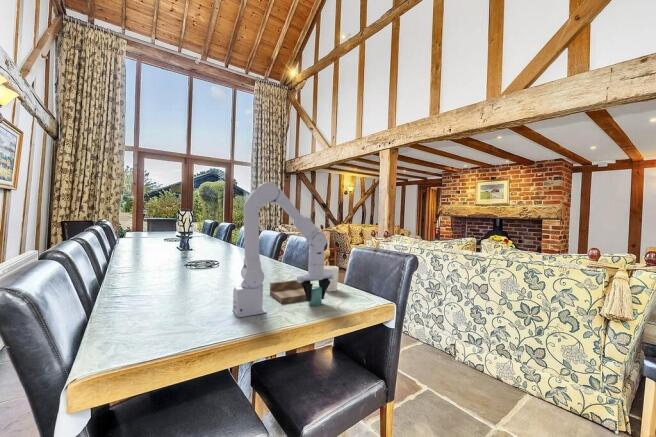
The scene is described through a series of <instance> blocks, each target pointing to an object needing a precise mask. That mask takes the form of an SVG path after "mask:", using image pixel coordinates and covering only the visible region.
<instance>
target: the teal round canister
mask: <svg viewBox="0 0 656 437" xmlns="http://www.w3.org/2000/svg"><path fill="white" fill-rule="evenodd" d="M322 301H323V299H322V288H321V287H319V285H318V286H316V285H315V286H314V285H313V286H312V290H311V301H310V302H309V301H307V302H308V303H307V304H308V306H309V307H310V306H311V307H320V306H322V304H323V302H322Z"/></svg>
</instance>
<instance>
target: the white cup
mask: <svg viewBox="0 0 656 437" xmlns="http://www.w3.org/2000/svg"><path fill="white" fill-rule="evenodd" d="M339 268H340V267H339V266H336V265H324V273H332V274H334V275H333V279H329V280H330V284H329V286H328V288H327V290H326V291H327V292H328V293H331V291H334V292H336V291H337V290H338V283H339V271H340V270H339ZM327 292H326V293H327Z"/></svg>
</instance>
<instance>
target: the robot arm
mask: <svg viewBox="0 0 656 437" xmlns="http://www.w3.org/2000/svg"><path fill="white" fill-rule="evenodd" d="M268 203H270V204H274V205H277V206H279V207H280V208H281V209H282V211H284V212H285V213H286V214H287V215H288V216H289V217H290V218H291V219H292V220H293V221H294V228H296V229H297V231H298V232H299V233H300V234H301V235H302V237H304V238H305V239H306V243H307V244H308V263H307V264H308V268H307V270H308V271H307V274H304V275H299V276H297V277H296V280H297V282H298V283H301V284H302V286H303V289H304V291H305V295H306V300H305V301H307V302H308V301H309V302H310V301H311V290H312V287H313V286H314V284H313V283H311V282H315V281H318V287H321V288H322V300H324V299H325V295H326V293H327V292H326V290H327V288H328V286H329V284H330V280H329V279H333V275H334V274H332V273H324V266H325V246H326V245H327V243H328V239H327V236H326V235H325V233H324V232H322V231H320V228H319V227H318V226H317V225H315V224H314V222H313V221H312V220H313V219H312V217H311V216H308V215H302V214H301V212H300V211H299V210H298V209H297V208H296V207H295V205H294V204H293V203H292V201H291V200H290V199H289V198H288V196H287V195H286V194H285V193H284V192H283V190H281V188H279V187H278V186H277V185H276V184H275V183H274V182H271V181H266V182H264V183H260V184H258V185H257V186H255V188H253V189H252V191H251V193H250V194H249V195H248V197H247V198H246V200H245V201H244V204H243V237H244V238H243V239H244V247H243V248H244V258H243V265H242V266H243V267H242V268H241V272H240V276H241V278H242V279H243V280H242V282H241V283H240V286H236V287H234V288H233V292H232V294H233V295H232V312H233V313H234V314H235V316H236V317H237V318H242V317H243V318H244V317H248V316H255V315H260V314H266V313H267V310H266V309H265V308H263V302H264V301H263V299H264V298H263V297H264V293H263V292H264V283H263V282H264V280H265V274H264V272H263V270H262V262H261V258H260V222H259V221H260V218H259V217H260V216H259V212H260V210H261V209H262V208H263V207H265V205H267V204H268ZM310 281H311V282H310Z"/></svg>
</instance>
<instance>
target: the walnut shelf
mask: <svg viewBox="0 0 656 437" xmlns="http://www.w3.org/2000/svg"><path fill="white" fill-rule="evenodd" d="M310 282H312V281H310ZM269 295H270V297H272V298H273V299H274V300H276V301H277V302H279V303H280V304H287V303H293V302H300V301H307V300H306V295H305V291H304V289H303V286H302V284H301V283H298V282H297V279H292V280H283V281H275V282H270V283H269Z"/></svg>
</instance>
